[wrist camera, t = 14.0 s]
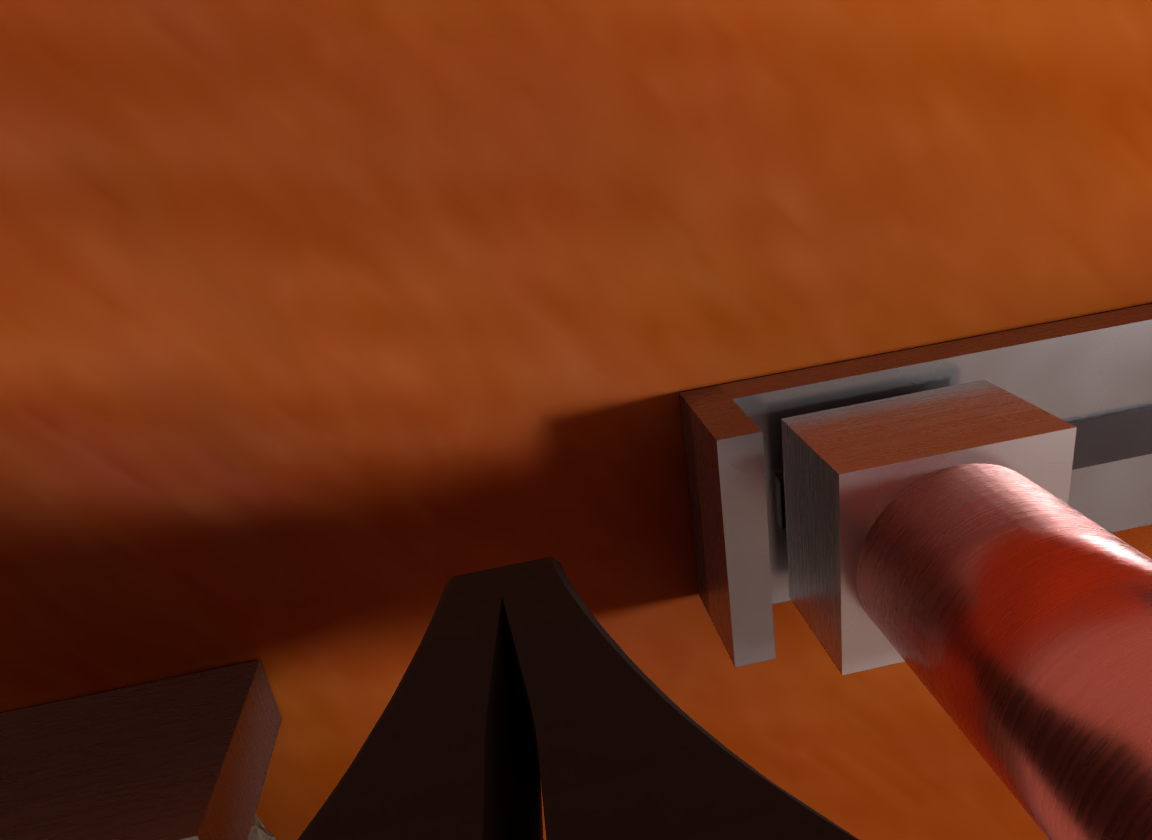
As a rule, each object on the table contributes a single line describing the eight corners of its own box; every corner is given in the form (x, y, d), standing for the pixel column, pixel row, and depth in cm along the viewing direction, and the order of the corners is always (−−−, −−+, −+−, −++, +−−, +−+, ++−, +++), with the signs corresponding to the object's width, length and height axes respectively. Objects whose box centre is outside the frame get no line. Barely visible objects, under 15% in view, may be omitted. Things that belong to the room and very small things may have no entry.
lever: (973, 558, 12) (1421, 948, 7) (789, 597, 12) (1088, 1037, 6) (984, 379, 11) (1537, 664, 5) (780, 418, 11) (1136, 759, 5)
